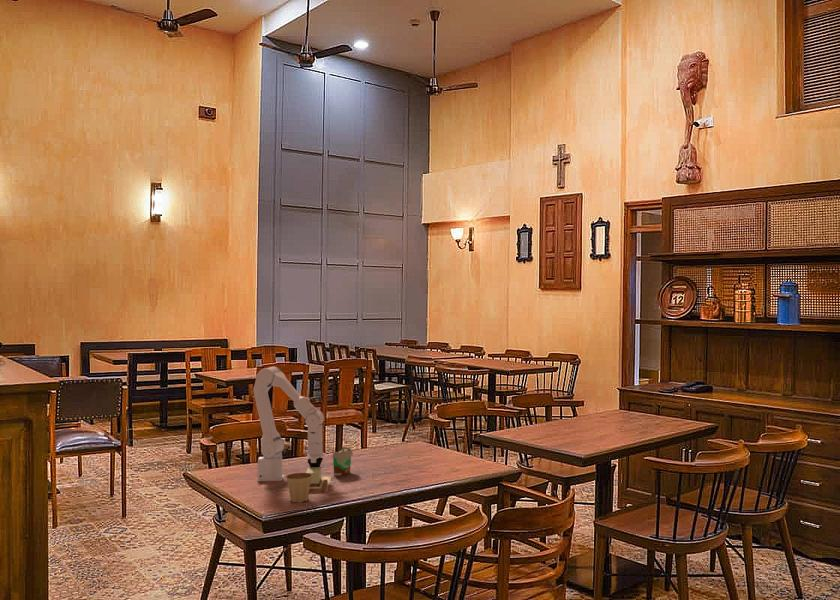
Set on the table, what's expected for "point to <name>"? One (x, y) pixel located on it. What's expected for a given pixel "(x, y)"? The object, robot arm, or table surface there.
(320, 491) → the dock board
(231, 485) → the table surface
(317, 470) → the cream rectangular block
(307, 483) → the flower pot
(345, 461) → the food container
